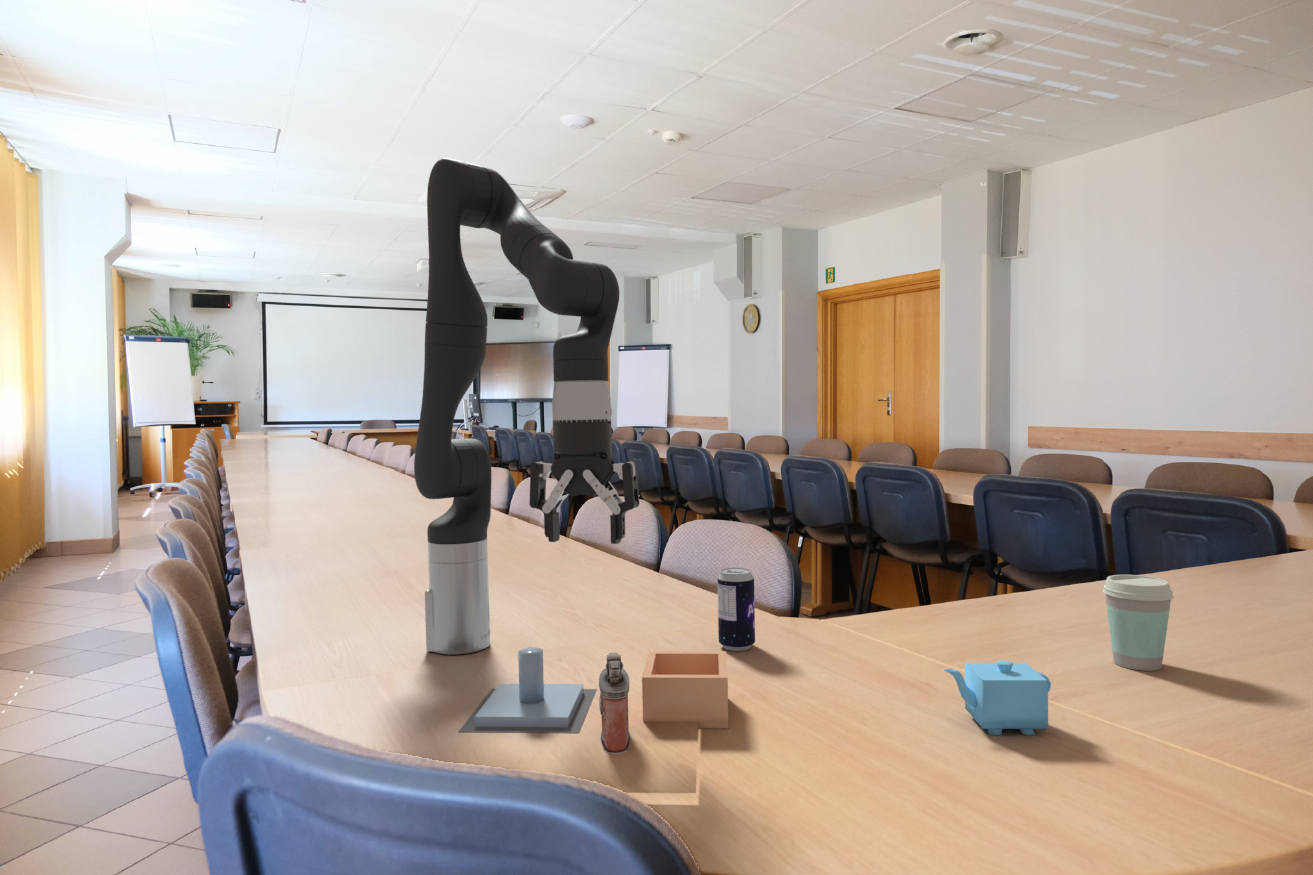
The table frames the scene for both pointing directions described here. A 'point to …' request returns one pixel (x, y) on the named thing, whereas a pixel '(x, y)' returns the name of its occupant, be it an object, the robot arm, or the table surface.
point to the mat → (573, 727)
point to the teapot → (1005, 696)
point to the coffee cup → (1138, 620)
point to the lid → (530, 698)
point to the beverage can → (736, 609)
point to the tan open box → (686, 688)
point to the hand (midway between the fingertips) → (585, 542)
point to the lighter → (614, 706)
